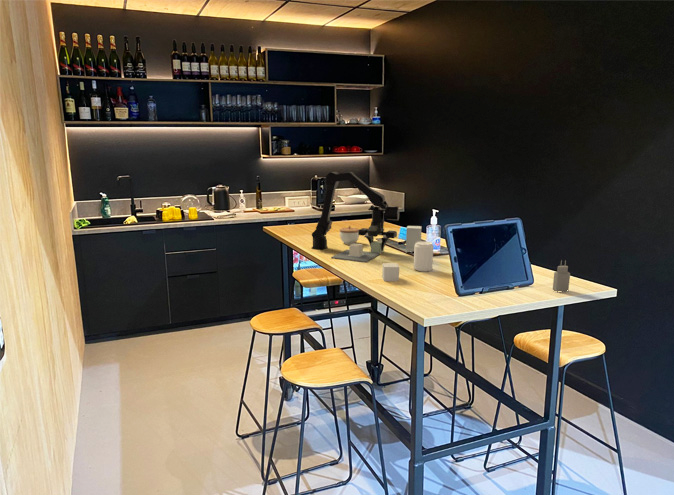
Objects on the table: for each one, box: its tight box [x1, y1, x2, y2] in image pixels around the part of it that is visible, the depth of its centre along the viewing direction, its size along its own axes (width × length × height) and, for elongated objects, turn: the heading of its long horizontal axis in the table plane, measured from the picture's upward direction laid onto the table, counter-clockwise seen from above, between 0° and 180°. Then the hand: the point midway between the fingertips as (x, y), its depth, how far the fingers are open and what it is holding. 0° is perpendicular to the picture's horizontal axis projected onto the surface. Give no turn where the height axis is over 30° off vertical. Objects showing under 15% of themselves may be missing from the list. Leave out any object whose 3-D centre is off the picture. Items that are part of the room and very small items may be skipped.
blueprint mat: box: [330, 249, 381, 263], centre depth 244 cm, size 18×18×1 cm
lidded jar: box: [339, 225, 360, 245], centre depth 272 cm, size 11×11×9 cm
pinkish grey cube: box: [381, 262, 400, 282], centre depth 205 cm, size 6×6×6 cm
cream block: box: [348, 242, 364, 256], centre depth 243 cm, size 5×5×5 cm
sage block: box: [370, 240, 385, 254], centre depth 252 cm, size 5×5×5 cm
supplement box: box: [405, 225, 423, 253], centre depth 253 cm, size 7×7×13 cm
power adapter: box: [552, 259, 571, 292], centre depth 190 cm, size 3×5×12 cm, turn 106°
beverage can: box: [413, 240, 434, 273], centre depth 219 cm, size 8×8×12 cm
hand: (377, 249), depth 253 cm, fingers closed on sage block, 5 cm apart
